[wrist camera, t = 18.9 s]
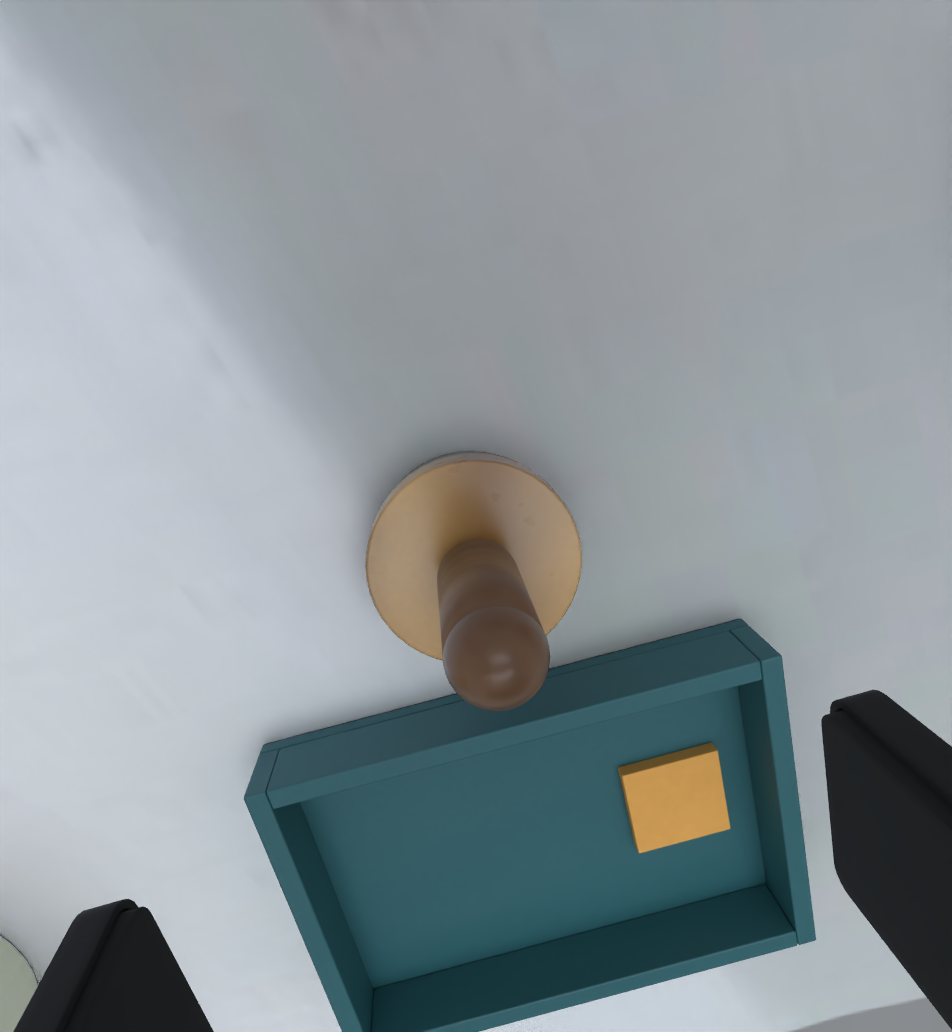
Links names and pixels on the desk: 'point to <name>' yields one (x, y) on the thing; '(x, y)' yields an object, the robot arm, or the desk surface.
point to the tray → (537, 840)
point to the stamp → (476, 572)
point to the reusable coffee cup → (14, 985)
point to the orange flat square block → (675, 797)
